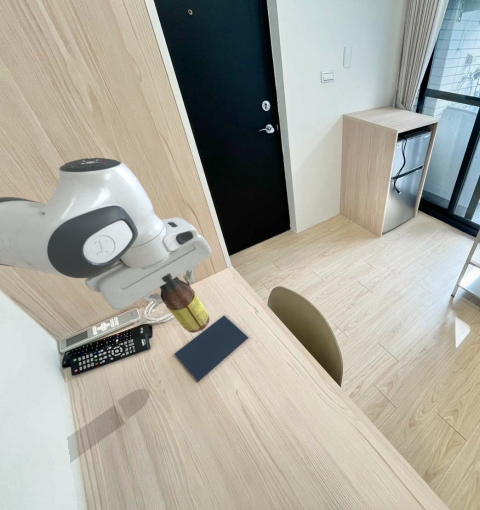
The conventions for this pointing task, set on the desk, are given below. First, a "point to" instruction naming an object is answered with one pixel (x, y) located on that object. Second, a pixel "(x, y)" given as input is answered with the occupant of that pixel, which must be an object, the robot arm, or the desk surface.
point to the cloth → (210, 347)
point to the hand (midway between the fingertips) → (175, 291)
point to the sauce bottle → (184, 304)
